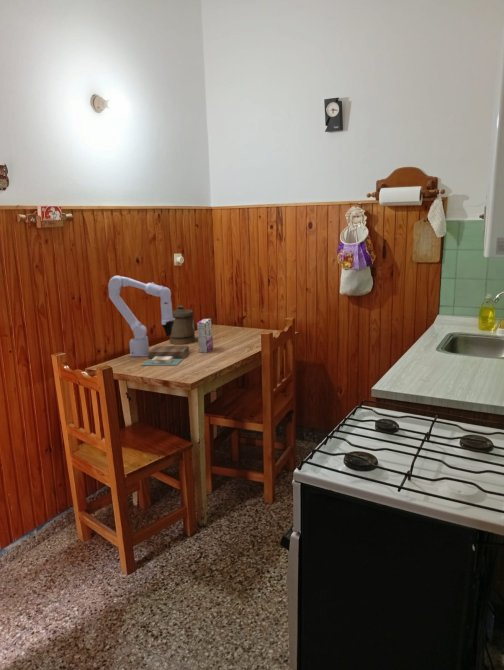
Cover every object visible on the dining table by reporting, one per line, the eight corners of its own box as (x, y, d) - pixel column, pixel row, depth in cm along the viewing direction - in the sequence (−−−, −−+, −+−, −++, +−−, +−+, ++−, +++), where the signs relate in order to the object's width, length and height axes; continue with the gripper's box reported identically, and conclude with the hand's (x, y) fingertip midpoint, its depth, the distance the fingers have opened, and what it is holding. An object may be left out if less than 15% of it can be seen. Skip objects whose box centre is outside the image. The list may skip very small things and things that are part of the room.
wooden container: (200, 340, 284) (197, 303, 280) (180, 345, 274) (178, 307, 269) (184, 337, 294) (181, 302, 290) (164, 342, 284) (161, 305, 279)
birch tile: (155, 356, 242) (155, 360, 242) (151, 359, 236) (151, 363, 237) (172, 356, 241) (173, 360, 241) (169, 359, 235) (169, 363, 235)
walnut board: (149, 359, 246) (148, 352, 245) (156, 353, 258) (155, 346, 257) (183, 359, 244) (182, 351, 243) (189, 353, 255) (188, 345, 255)
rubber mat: (141, 365, 235) (141, 365, 235) (148, 359, 246) (148, 359, 246) (177, 365, 233) (177, 364, 233) (183, 359, 243) (182, 358, 243)
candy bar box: (204, 347, 266) (202, 318, 263) (213, 347, 265) (211, 318, 262) (198, 352, 255) (196, 322, 252) (207, 353, 254) (205, 322, 251)
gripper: (170, 312, 246) (172, 338, 249) (177, 308, 260) (179, 332, 263) (156, 312, 247) (158, 338, 250) (165, 308, 261) (167, 332, 264)
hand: (168, 335), depth 257 cm, fingers closed
